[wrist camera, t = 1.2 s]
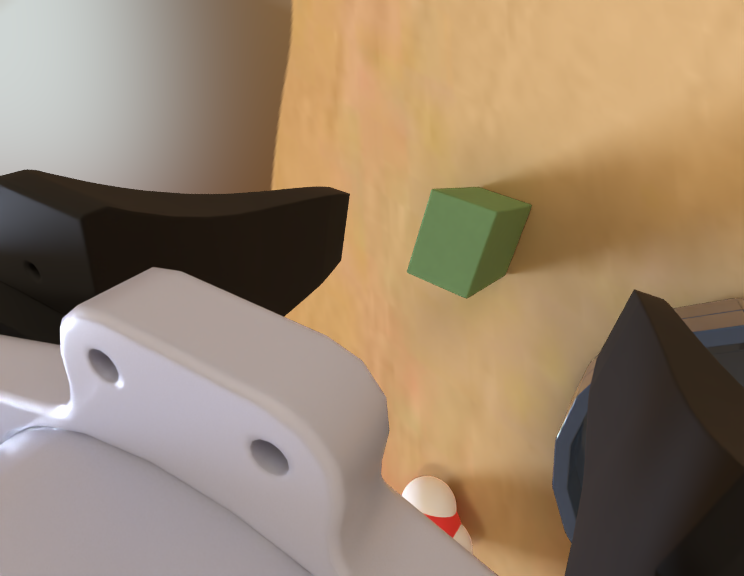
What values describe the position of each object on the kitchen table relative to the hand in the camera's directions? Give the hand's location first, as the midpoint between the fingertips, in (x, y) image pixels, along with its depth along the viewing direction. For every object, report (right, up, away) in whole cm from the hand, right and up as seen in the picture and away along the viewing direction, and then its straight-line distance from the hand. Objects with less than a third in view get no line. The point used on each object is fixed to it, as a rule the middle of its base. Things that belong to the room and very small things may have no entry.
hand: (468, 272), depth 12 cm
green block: (+3, +2, +11) cm, 12 cm away
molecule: (+2, -13, +16) cm, 21 cm away
